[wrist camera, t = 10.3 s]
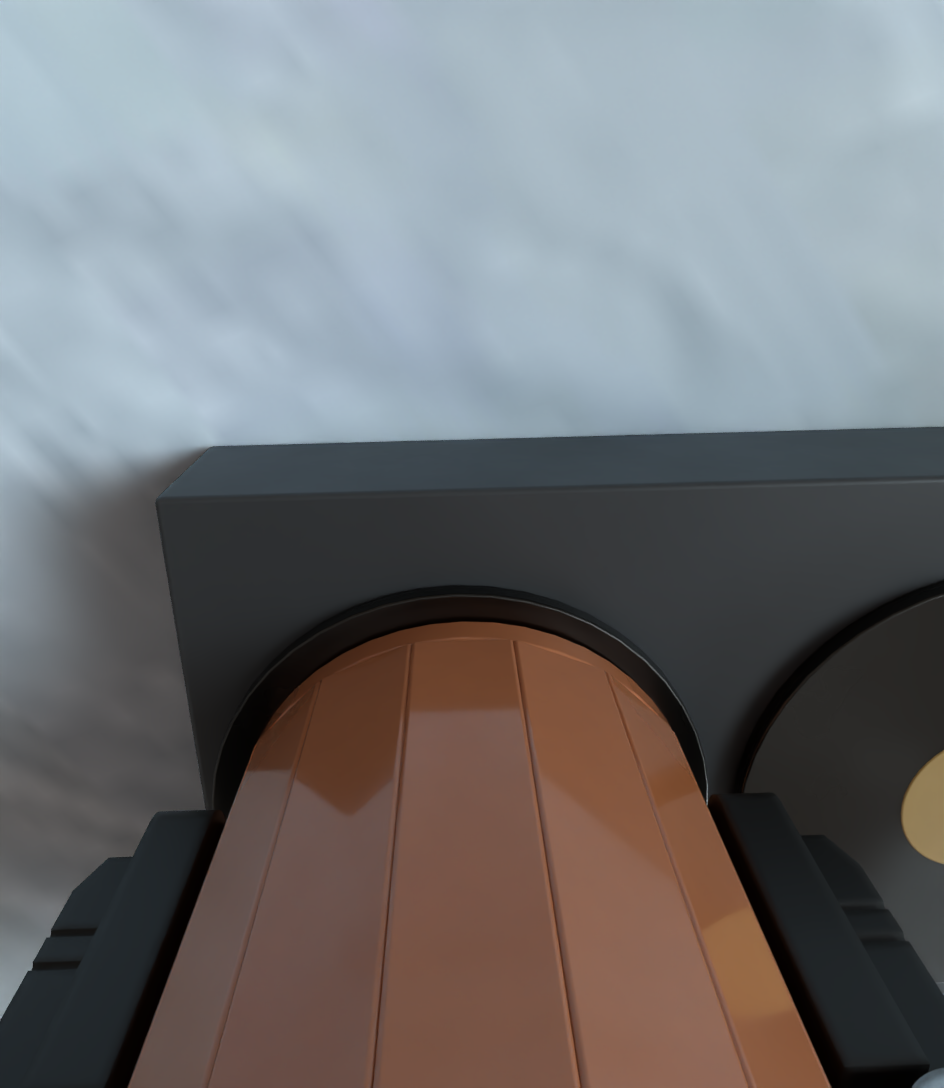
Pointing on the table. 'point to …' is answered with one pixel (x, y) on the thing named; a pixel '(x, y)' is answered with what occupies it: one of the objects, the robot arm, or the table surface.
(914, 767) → the burners
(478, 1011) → the copper pot
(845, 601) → the hob
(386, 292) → the table surface
